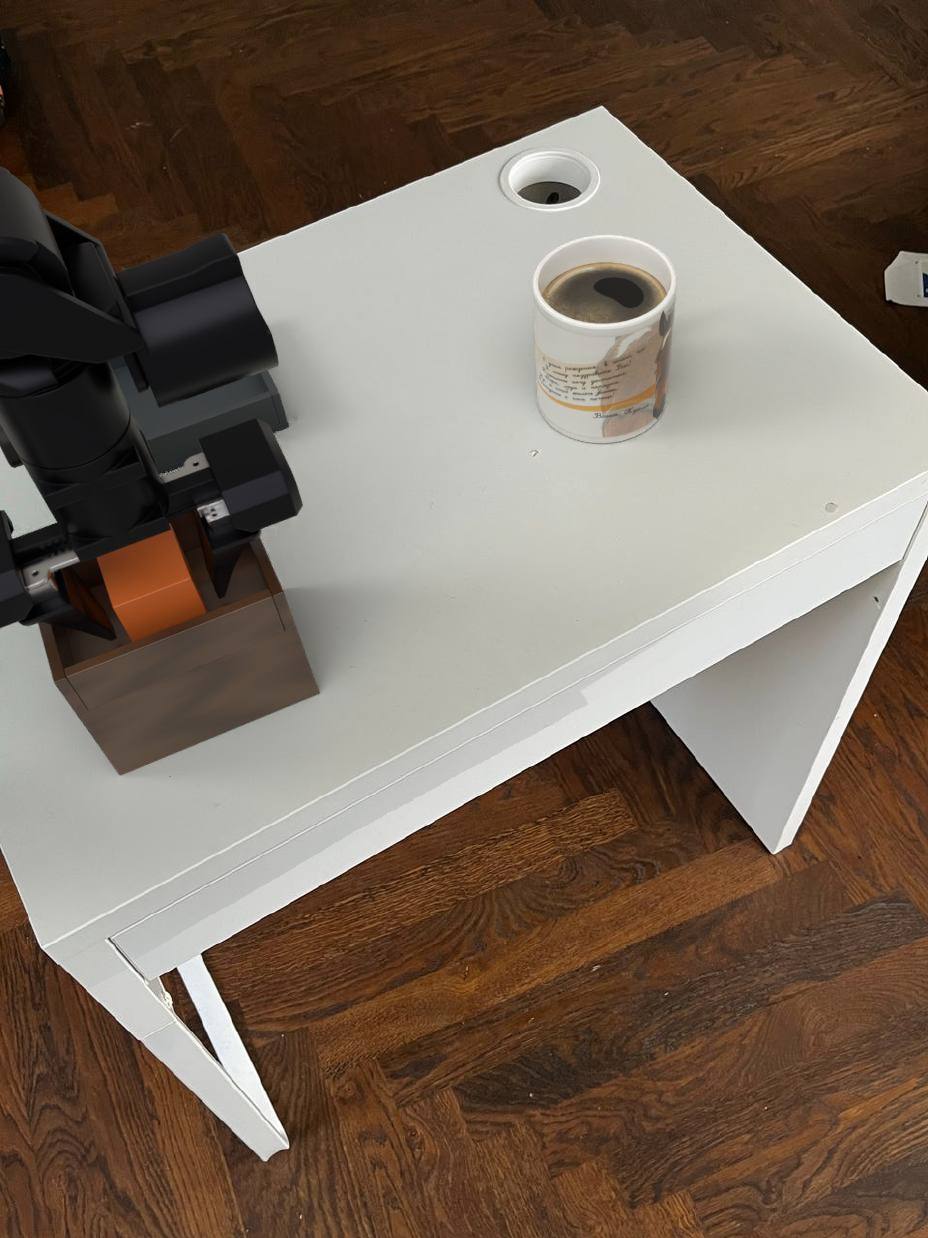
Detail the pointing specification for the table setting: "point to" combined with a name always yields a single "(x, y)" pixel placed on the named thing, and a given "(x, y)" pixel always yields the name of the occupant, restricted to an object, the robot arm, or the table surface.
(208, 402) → the tub
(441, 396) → the table surface
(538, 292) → the mug
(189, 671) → the box
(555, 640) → the table surface
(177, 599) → the block
